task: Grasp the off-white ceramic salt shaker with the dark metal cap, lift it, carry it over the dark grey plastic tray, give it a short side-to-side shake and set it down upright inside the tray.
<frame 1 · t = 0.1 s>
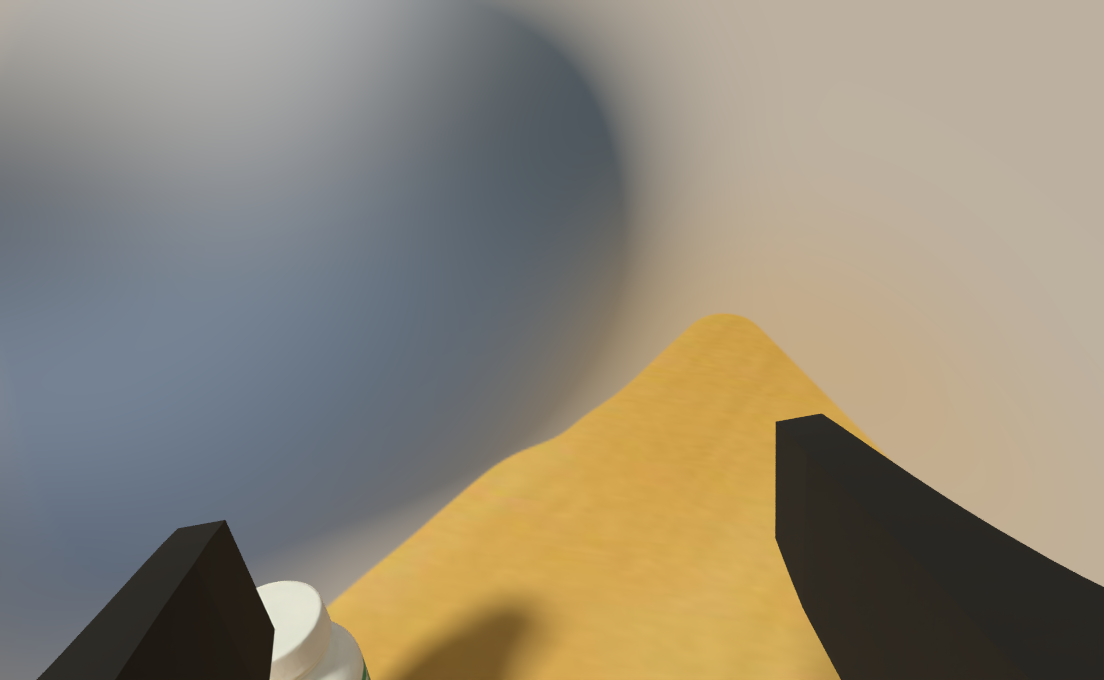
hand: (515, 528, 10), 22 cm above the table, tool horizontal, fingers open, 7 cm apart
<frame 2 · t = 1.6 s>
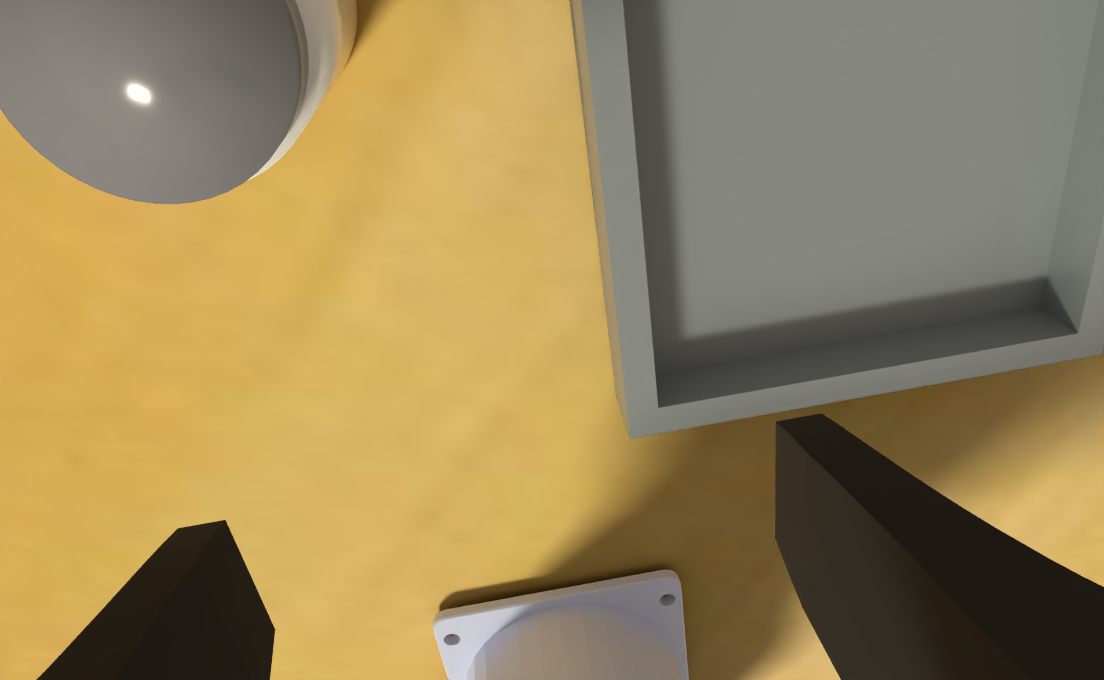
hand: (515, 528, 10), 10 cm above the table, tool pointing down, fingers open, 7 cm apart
tray: (845, 137, 19), on the table
shaker: (246, 3, 17), on the table
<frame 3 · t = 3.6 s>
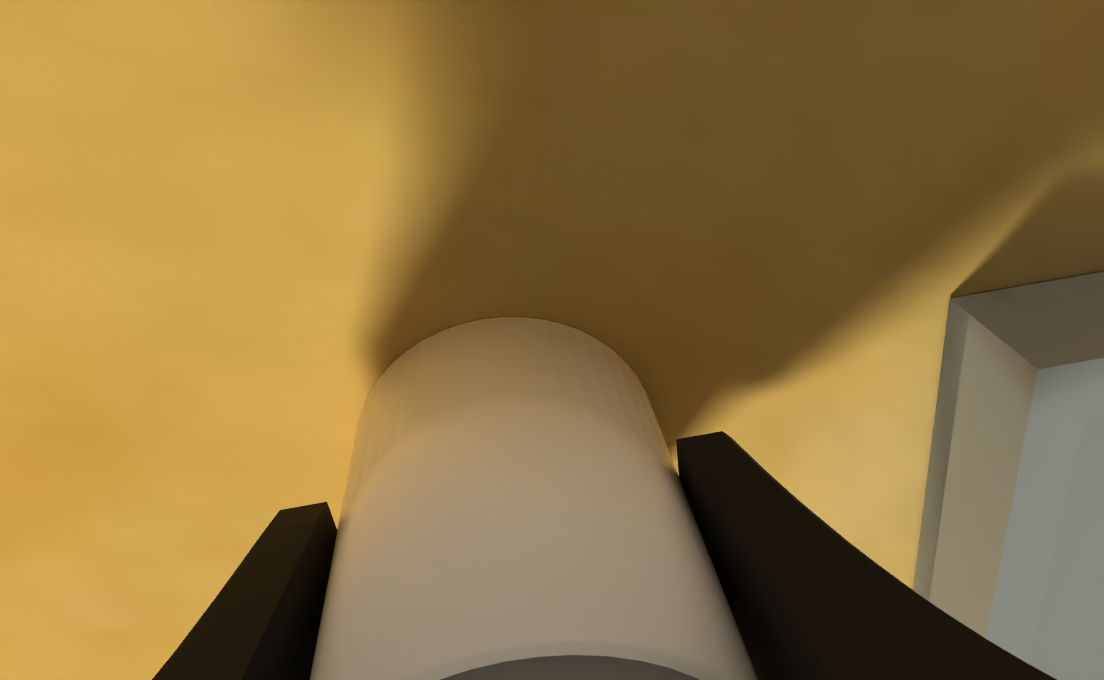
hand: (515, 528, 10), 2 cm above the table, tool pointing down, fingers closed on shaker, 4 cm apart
shaker: (507, 449, 12), on the table, touching gripper
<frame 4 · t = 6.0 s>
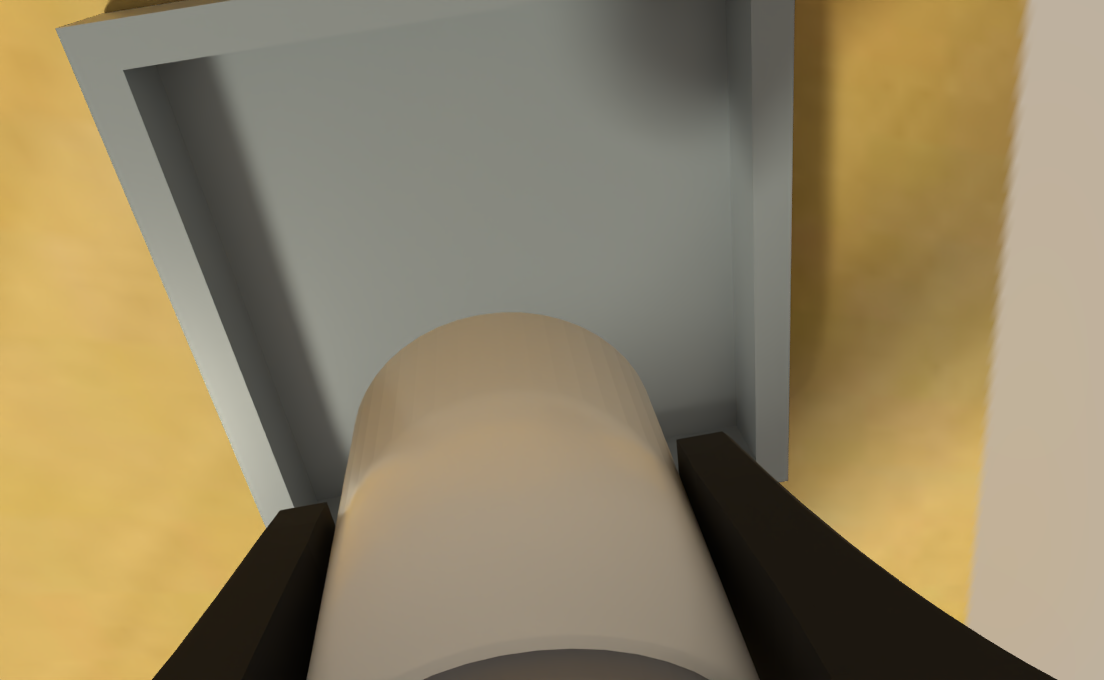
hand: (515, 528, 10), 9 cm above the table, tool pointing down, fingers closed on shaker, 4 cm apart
tray: (490, 261, 18), on the table
shaker: (506, 445, 12), point 7 cm above the table, touching gripper
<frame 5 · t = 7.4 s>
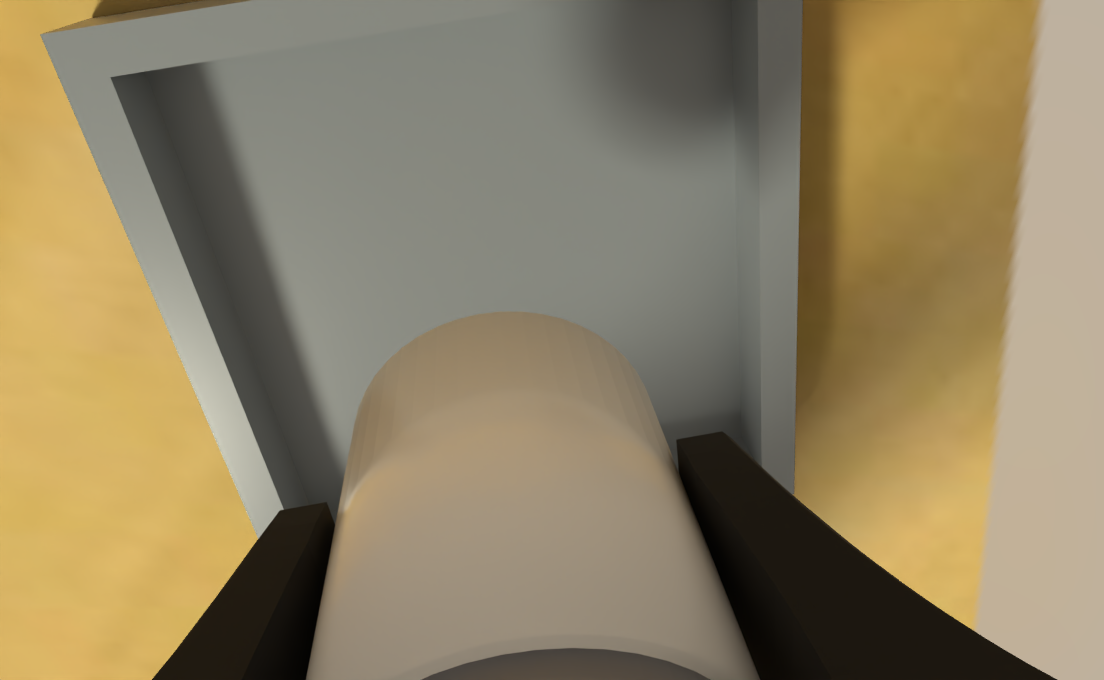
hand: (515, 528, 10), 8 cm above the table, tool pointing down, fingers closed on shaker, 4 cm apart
tray: (490, 270, 18), on the table
shaker: (506, 445, 12), point 7 cm above the table, touching gripper
when the fingers open (3 cm above the table, at t = 8.7 s): shaker stays where it is, resting on tray.
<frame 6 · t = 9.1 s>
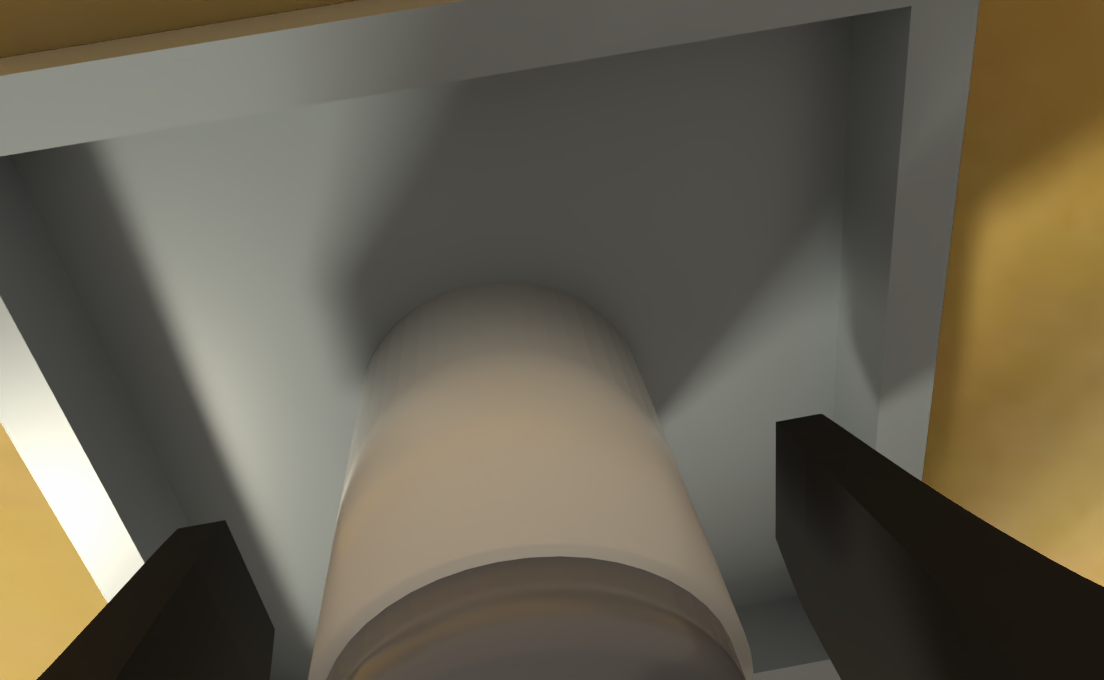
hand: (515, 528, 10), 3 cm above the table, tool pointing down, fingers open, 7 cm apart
tray: (502, 396, 13), on the table
shaker: (503, 408, 13), point 1 cm above the table, touching tray
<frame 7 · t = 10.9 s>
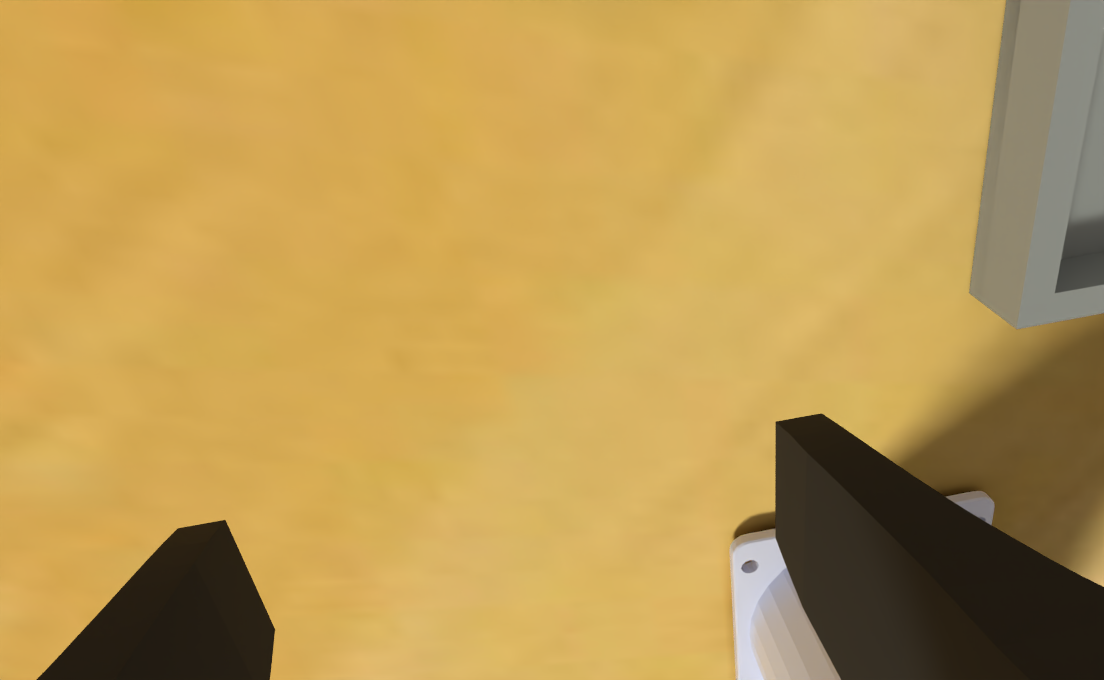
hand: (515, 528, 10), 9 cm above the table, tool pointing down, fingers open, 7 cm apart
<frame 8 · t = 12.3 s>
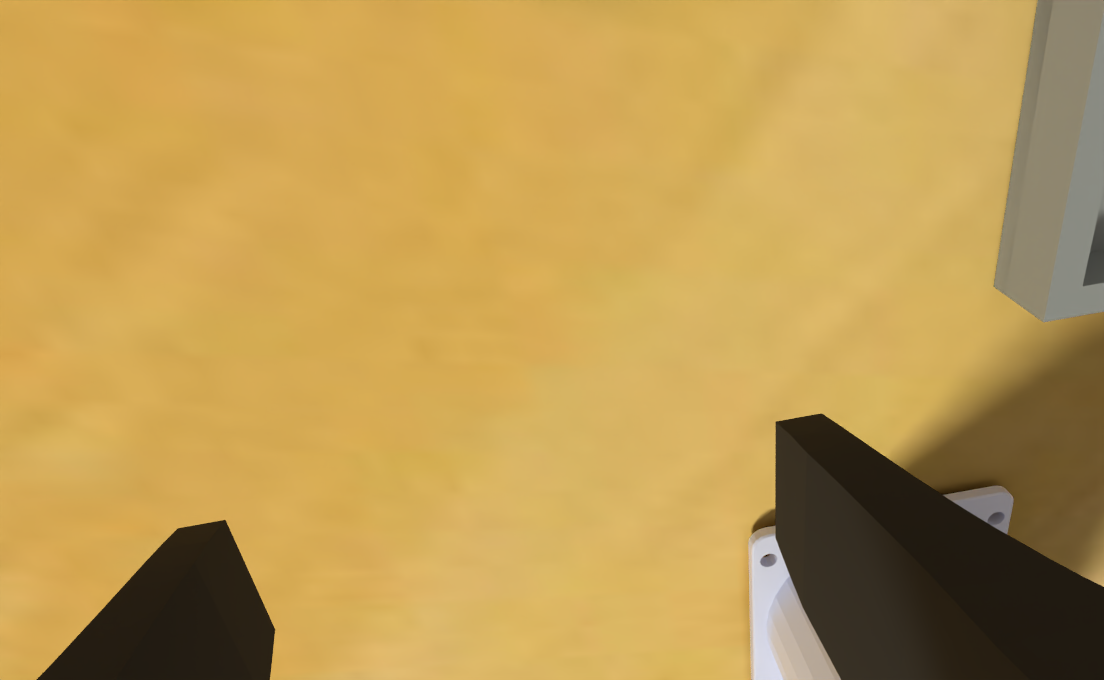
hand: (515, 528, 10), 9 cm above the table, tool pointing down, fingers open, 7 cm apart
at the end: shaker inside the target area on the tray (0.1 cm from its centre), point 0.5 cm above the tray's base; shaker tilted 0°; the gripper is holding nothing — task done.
